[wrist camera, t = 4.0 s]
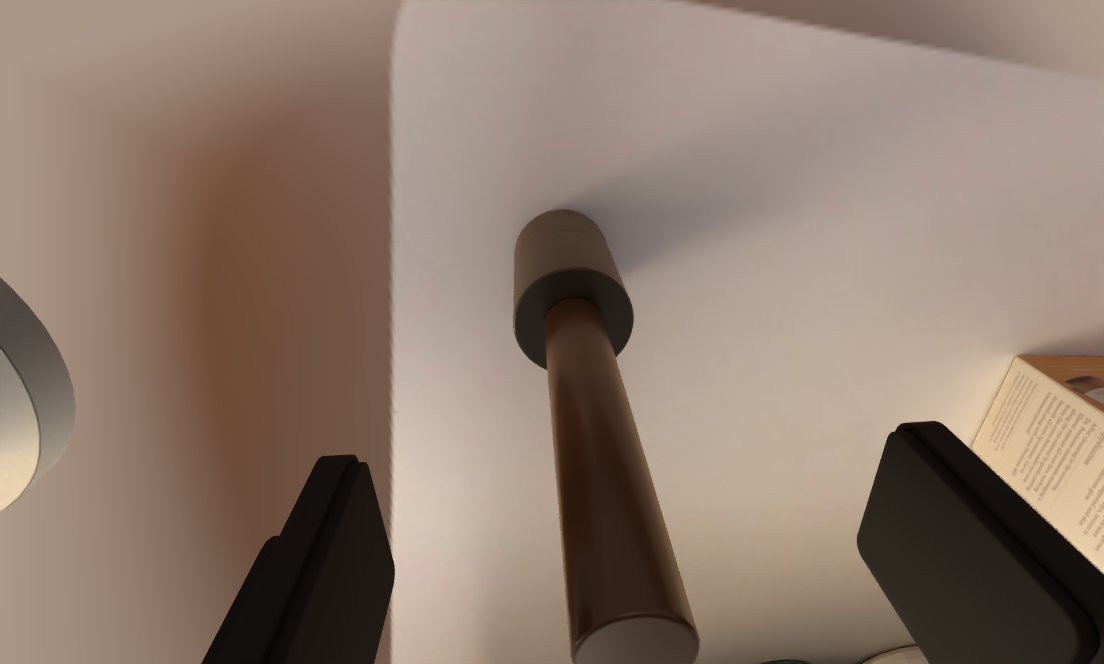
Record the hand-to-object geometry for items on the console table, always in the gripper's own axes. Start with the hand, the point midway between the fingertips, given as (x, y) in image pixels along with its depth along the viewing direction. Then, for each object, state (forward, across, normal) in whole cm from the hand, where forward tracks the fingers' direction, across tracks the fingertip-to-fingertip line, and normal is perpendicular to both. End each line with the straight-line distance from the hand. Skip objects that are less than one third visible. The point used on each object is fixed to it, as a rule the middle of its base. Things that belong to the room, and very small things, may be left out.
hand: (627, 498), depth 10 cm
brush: (+13, +1, 0) cm, 13 cm away
